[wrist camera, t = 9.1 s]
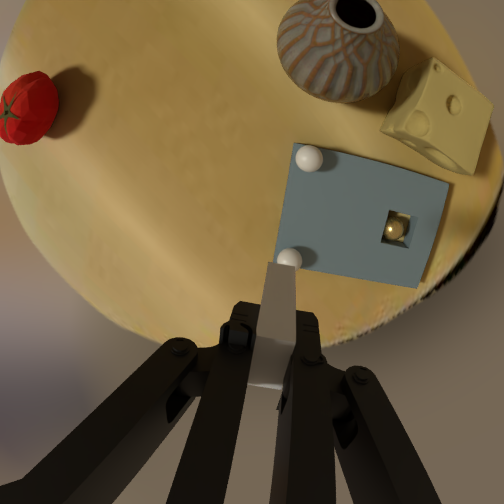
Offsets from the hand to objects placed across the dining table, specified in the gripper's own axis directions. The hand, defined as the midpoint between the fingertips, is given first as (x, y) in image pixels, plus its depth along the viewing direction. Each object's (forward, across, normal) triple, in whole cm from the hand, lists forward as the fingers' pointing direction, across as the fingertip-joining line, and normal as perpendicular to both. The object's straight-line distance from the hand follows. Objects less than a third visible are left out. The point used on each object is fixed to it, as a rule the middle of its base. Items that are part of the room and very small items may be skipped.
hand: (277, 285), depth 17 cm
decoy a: (+20, +2, +6) cm, 21 cm away
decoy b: (+20, +2, -7) cm, 21 cm away
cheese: (+24, +17, +16) cm, 33 cm away
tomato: (+24, -43, +12) cm, 51 cm away
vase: (+24, +3, +20) cm, 31 cm away
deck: (+24, +11, 0) cm, 26 cm away
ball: (+22, +15, -1) cm, 27 cm away
